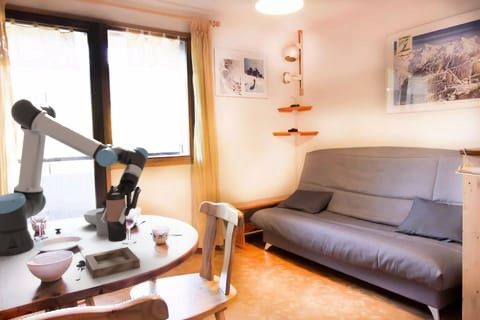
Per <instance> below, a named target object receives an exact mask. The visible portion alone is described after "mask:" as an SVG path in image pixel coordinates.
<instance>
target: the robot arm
mask: <svg viewBox="0 0 480 320" xmlns="http://www.w3.org/2000/svg"><path fill="white" fill-rule="evenodd" d="M10 110H11V111H10V114H11V117H12V119H13V121H14V122H15V123H16V124H18V125H20V129H21V130H22V132H23V141H22V147H21V148H22V150H21V159H20V169H19V177H18V184H17V185H16V186H15V187H14V188H13V192H11V193H6V194H2V195H0V257H5V256H13V255H18V254H21V253H25V252H27V251H29V250H32V249H33V248H34V247H35V246H34V245H35V244H34V239H33V238H32V235H31V232H30V231H29V227H28V219H29V218H30V219H31V217H34V216H36V215H38V214H39V213H41V212H42V211H43V210H44V208H45V206H46V204H47V198H46V196H45V195H44V188H43V186H41V182H42V181H41V180H42V173H43V163H44V154H45V147H46V146H45V145H46V139H47V138H46V136H47V137H49V138H51V139H53V140H55V141H58V142H59V143H61V144H63V145H65V146H67V147H69V148H71V149H72V150H73V149H74V151H77V152H79V153H81V154H83V155H85V156H87V157H88V158H91V159H92V160H94V161H96V162H97V163H98V165H99V166H102V167H105V168H106V167H112V166H114V165H116V164H119V165H123V166H125V167H124V170H123V172H122V174H121V177H120V179H119V182H118V185H116V186H114V185H111V186H110V189H109V191H108V192H113V191H124V192H125V203H126V207H124V209H123V211H122V214H121V216H120V219H119V221H120V223H121V224H123V223H124V221H125V218H126V219H127V217H128V216H129V214H130V212H131V210H133V209H134V210H135V209H136V208H137V205H138V201H139V196H140V193H141V192H142V189H141V187H140V186H137V185H138V183H139V180H140V178H141V176H142V173H143V171H144V168H145V167H146V164H147V161H148V157H149V151H148V150H147V149H145V148H144V147H141V146H135V147H134V148H133V149H127V148H123V147H121V146H118V145H114V144H109V143H108V144H104V143H102V142H100V141H98V140H96V139H94V138H92V137H90V136H89V135H86V134H84V133H83V132H81V131H78V130H77V129H75V128H73V127H72V126H69V125H68V124H65V123H63V122H62V121H60V120H57V112H56V110H55V108H54V106H53V105H51V104H50V103H49V102H47V101H44V100H37V99H32V98H31V99H30V98H23V99H22V98H21V99H19V100H17V101H15V102H14V104H13V105H12V107H11V109H10ZM101 205H102V206H103V208H104V210H103V216H102V218H101V220H102V221H103V223H106V220H107V207H106V196H105V198H104V199H103V201H102V202H101Z"/></svg>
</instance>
